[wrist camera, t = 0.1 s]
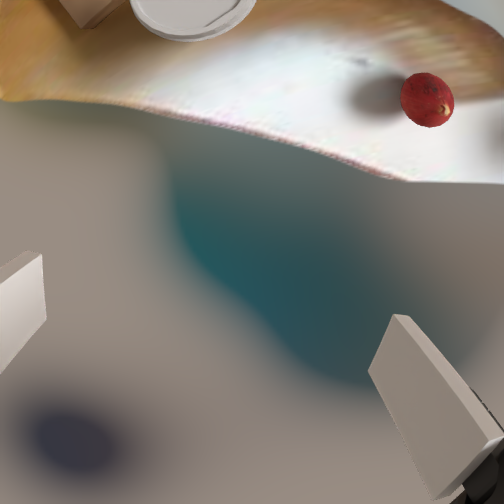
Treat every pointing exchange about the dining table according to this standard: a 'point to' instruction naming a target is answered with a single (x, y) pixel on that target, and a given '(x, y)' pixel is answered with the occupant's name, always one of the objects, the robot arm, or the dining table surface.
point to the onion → (427, 100)
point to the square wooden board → (90, 11)
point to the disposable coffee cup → (190, 17)
